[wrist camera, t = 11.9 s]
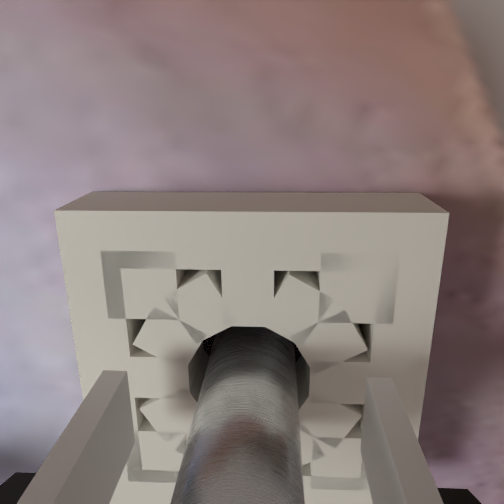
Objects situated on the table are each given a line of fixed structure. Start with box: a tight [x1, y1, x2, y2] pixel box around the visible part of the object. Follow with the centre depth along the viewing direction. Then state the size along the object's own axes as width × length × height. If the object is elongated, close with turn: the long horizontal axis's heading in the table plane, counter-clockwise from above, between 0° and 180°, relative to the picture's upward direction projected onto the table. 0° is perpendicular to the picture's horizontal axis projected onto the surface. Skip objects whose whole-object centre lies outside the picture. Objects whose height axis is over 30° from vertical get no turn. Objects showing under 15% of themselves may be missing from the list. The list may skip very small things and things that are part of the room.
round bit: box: [170, 326, 305, 504], centre depth 13 cm, size 3×3×12 cm
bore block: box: [54, 192, 449, 504], centre depth 17 cm, size 12×12×3 cm
